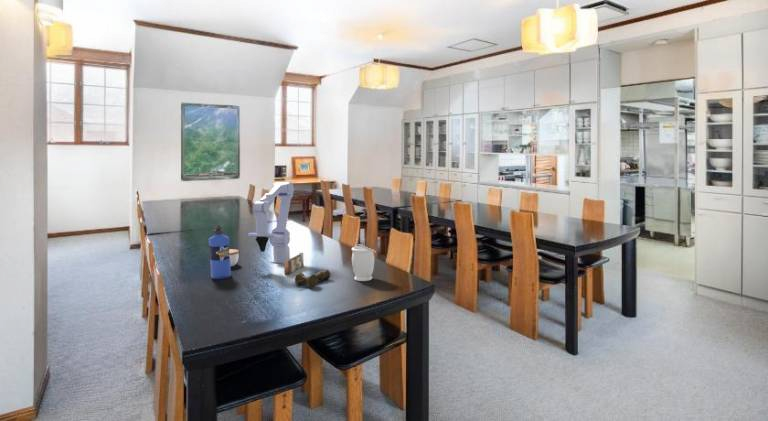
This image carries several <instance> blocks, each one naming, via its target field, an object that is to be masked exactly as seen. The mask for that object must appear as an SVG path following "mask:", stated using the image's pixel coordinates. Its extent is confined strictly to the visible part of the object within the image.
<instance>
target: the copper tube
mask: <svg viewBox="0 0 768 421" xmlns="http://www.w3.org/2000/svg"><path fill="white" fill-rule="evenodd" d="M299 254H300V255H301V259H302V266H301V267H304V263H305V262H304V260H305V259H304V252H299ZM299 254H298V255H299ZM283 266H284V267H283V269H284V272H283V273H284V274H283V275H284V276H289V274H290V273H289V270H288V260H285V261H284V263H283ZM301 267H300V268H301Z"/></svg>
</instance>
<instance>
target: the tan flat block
mask: <svg viewBox="0 0 768 421" xmlns="http://www.w3.org/2000/svg"><path fill="white" fill-rule="evenodd" d="M290 258H291V257H290ZM301 266H302V259H301V255H300V254H297V255H295V256H293V257H292V258H291V259H289V260H288V270H289V274H292V273H293V271H296V270H297V269H299V268H301Z"/></svg>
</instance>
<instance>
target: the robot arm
mask: <svg viewBox="0 0 768 421" xmlns="http://www.w3.org/2000/svg"><path fill="white" fill-rule="evenodd" d="M294 190H295V187H294V183H293V182H291V181H275V182H274V183H273V185H272V189H271V190H270V192H269V193H265V194H263V196H262V197H261V198H260V199H259V200H258V201H255V202H254V203H253V205H252V211H253V216H254V217H255V232H249V233H247V235H248V236H247V237H248V238H255V241H256V243H257V245H258V248H259V250H260V252H261V253H262V252H263V253H264V252H266V248H267V244H268V241H269V243H270V245H271V247H272V251H273V252H272V253H273V260H271V261H270V263H275V264H284V261H285V260H289V259H291V256H290V247H289V243H290V241H291V237H290V236H291V234H290V231H289V230H288V229H287V224H288V220H289V219H288V218H289V212H290V211H289V210H290V206H291V200H292V199H293V196H294ZM276 197H277V198H279V199H280V205H279V209H278V211H279V212H278V216H277V222H276V227H275V228H274V229H272V230H271V232H269V231H268V228H269V227H268V212H269V211H270V207H271V205H272V204H273V203H274V202H275V198H276Z"/></svg>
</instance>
